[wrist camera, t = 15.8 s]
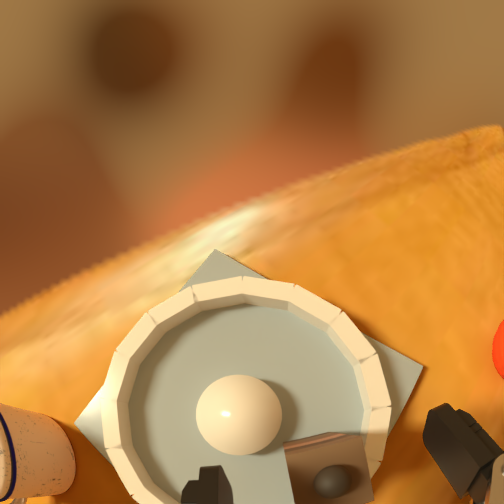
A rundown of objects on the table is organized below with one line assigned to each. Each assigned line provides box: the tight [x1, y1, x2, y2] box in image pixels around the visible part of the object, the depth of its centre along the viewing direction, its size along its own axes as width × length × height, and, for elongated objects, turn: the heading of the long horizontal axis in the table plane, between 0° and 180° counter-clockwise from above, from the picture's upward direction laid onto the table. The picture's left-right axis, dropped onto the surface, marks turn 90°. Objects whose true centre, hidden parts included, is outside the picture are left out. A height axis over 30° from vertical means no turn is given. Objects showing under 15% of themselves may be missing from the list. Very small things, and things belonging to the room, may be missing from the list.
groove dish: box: [74, 249, 423, 504], centre depth 20 cm, size 21×21×3 cm
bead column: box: [283, 432, 374, 504], centre depth 13 cm, size 3×3×11 cm
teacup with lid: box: [0, 403, 76, 504], centre depth 13 cm, size 12×9×12 cm
